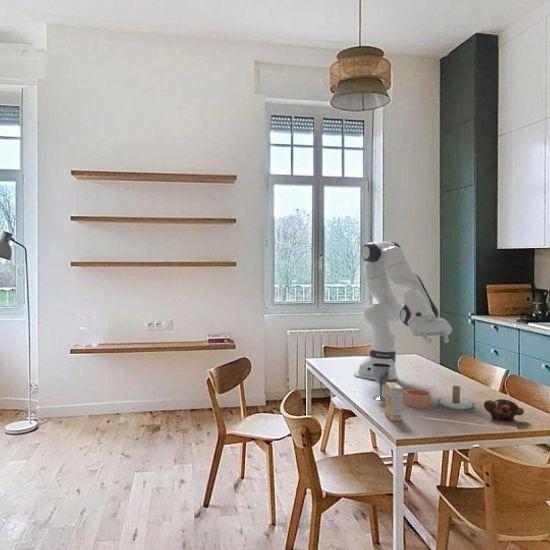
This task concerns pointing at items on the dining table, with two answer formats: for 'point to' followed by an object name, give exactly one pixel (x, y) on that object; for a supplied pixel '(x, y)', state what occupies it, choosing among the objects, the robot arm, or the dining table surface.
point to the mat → (455, 409)
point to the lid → (456, 401)
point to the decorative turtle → (503, 409)
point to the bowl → (417, 398)
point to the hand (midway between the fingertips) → (438, 342)
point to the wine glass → (381, 376)
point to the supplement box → (394, 401)
